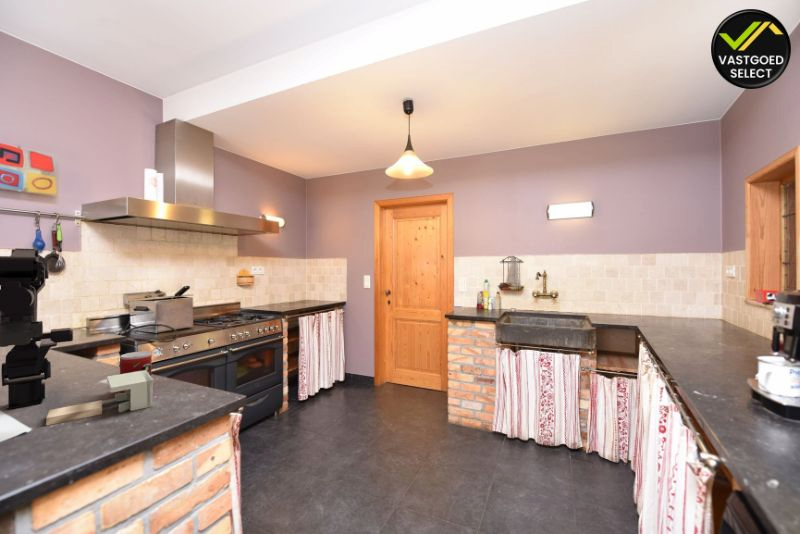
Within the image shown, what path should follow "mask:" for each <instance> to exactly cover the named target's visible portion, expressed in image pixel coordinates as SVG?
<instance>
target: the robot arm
mask: <svg viewBox="0 0 800 534" xmlns="http://www.w3.org/2000/svg"><path fill="white" fill-rule="evenodd" d="M49 268H50V267H49V260H48V259H46V257H43V256H42V255H40V251H39V249H35V248H17V247H16V248H15V249H14V248H12V249H11V253H10V255H7V256H6V255H0V348H7V347H9V346H12V348H11V349H10V350H9V351H8V352H7V353H6V355H5V360H4V361H5V362H2V364H1V368H0V369H1V371H0V373H1V386H2V387H6V386H8V387H7V388H8V389H7V391H8V396H7V397H8V398H7V403H8V404H7V406H6V410H11V409H16V408H21V407H28V406H32V405H39V404H42V403H43V401H44V400H45V399H46V382H43V381H44V380H48V379H50V378H51V377H52V368H51V367H52V364H51V361H49V359H48V357H46V356H47V354H48V352H49V351H50V349H51V348H52V347H54V348H55V347H57V346H58V343H68V342H72V341H74V339H73V338H74V330H73V329H72V328H71V327H63V328H53V329H51V330H50V332H44V325H43V320H40V321H39V320H38V297H39V296H38V294H39V293H40V292H41V291H42V290H43V289H44V288H45V286H46V280H49V278H50V276H49V275H50V274H49V273H50V272H49V270H50V269H49ZM37 342H40V344H39V345H38V344H37Z"/></svg>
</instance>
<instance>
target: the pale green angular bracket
mask: <svg viewBox="0 0 800 534" xmlns="http://www.w3.org/2000/svg"><path fill="white" fill-rule="evenodd" d="M106 377H107V378H106V381H107V384H108V387H109V390H110V393H115V394H114V402H120V403H119V404H118V413H123V412H126V411H128V410H130V412H134V411H137V410H141V409H145V408H150V407H153V385H154V379H153V378H152V375H151V376H150V375H149V373H148V372H147V371H146V370H143V371H137V372H131V373H125V374H120V373H119V374H114V375H108V376H106ZM122 390H125V393H121V391H122ZM117 392H120V393H117ZM124 400H125V401H124ZM123 401H124V402H123ZM121 402H122V403H121Z"/></svg>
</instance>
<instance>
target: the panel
mask: <svg viewBox="0 0 800 534" xmlns="http://www.w3.org/2000/svg"><path fill="white" fill-rule="evenodd" d="M99 415H103V399H102V400H95V401H90V402H86V403H85V402H84V403H79V404H74V405H68V406H64V407H58V408H54V409H53V408H52V409H49V410H48V413H47V415H46V420H45V421H46V422H45V423H46V425H47V426H51V424H52V425H56V424H62V423H65V422H70V421H75V420H80V419H85V418H88V417H93V416H99Z"/></svg>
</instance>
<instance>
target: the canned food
mask: <svg viewBox="0 0 800 534" xmlns="http://www.w3.org/2000/svg"><path fill="white" fill-rule="evenodd" d="M152 356H153V355H152V352H151V351H146V350H145V351H133V352H127V353H125V354H121V355H120V357H119V374H125V373H131V372H137V371H143V370H146V371H147V372H148V373H149V375H150V376H151V377H152V376H153V375H152V373H153V372H152V371H153V370H152V367H153V366H152V363H153V362H152V361H153V358H152ZM120 393H125V390H122V391H120Z"/></svg>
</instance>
